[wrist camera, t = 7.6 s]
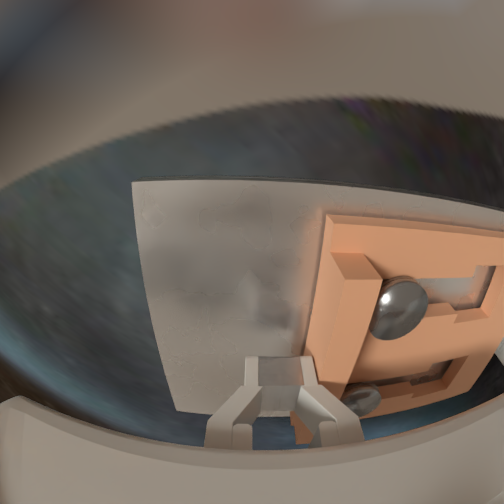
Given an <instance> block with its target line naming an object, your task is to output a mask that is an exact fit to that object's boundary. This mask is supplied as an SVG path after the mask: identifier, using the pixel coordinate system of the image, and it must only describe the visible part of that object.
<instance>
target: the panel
mask: <svg viewBox="0 0 504 504" xmlns="http://www.w3.org/2000/svg"><path fill="white" fill-rule="evenodd" d="M477 265H481V266H496V269H495V272H494V275H493V277H492V280H491V283H490V285H489V288H488V290H487V293H486V295H485V298H484V300H483V302H482V305H481V307H480V308H474V309H467V310H459V311H455V310H454V309H453V307H452V306H451V305H450V304H449V303H436V304H428V307H427V311H426V313H425V315H424V317H423V319H422V320H421V322H420V323H419V324H418V325H417V326H416V327H415V328H414V329H413V330H412V331H411V332H409V333H408V334H406V335H405V336H403V337H400V338H398V339H394V340H387V341H386V340H380V339H377V338H375V337H374V336H373V335H372V334H371V332H370V330H369V328H368V327H369V324H370V321H371V318H372V315H373V311H374V308H375V305H376V302H377V298H378V295H379V291H380V288H381V284H382V281H383V279H390V278H393V277H396V276H409V277H412V278H414V279H420V278H467V277H473V274H474V272H475V269H476V266H477ZM503 337H504V232H498V231H491V230H484V229H477V228H469V227H461V226H453V225H444V224H436V223H426V222H417V221H407V220H396V219H385V218H373V217H360V216H346V215H330V214H327V215H326V223H325V231H324V239H323V246H322V253H321V260H320V267H319V273H318V280H317V286H316V292H315V298H314V303H313V309H312V314H311V320H310V325H309V330H308V335H307V340H306V345H305V350H304V354H303V356H312V358H313V363H314V368H315V372H316V377H317V382H318V385H323V386H324V387H325V388H326V389H327V390H328V391H329V392H330V393H332V394H333V395H334V396H335V397H336V398H337V399H338V400H340V398H341V396H342V394H343V392H344V389H345V387H346V385H347V384H349V383H358V382H366V381H374V380H381V379H388V378H394V377H400V376H406V375H411V374H416V373H421V372H426V371H428V370H429V369H430V367H431V365H432V364H433V363H438V362H442V361H447V360H451V359H453V361H452V363H451V364H450V366H449V368H448V369H447V371H446V372H445V374H444V376H443V377H442V379H439V380H435V381H431V382H427V383H423V384H418V385H414V386H411V384H410V382H409V381H408V382H403V383H397V384H392V385H385V386H379V387H378V390H379V392H380V395H381V402H380V404H379V405H378V407H377V408H376V409H374V410H373V411H372V412H370V413H368V414H367V415H365V416H362V417H360V418H359V419H363V418H369V417H375V416H380V415H385V414H390V413H395V412H399V411H404V410H408V409H412V408H416V407H420V406H424V405H427V404H431V403H434V402H437V401H441V400H444V399H447V398H450V397H453V396H456V395H459V394H462V393H465V392H467V391H469V390H470V388H471V387H472V386H473V384H474V383H475V381H476V380H477V379H478V377H479V376H480V374H481V373H482V371H483V370H484V368H485V367H486V365H487V364H488V362H489V361H490V359H491V357H492V356H493V354H494V353H495V351H496V349H497V348H498V346H499V344H500V342H501V341H502V339H503ZM290 420H291V426H294V428H295V438H296V444H307V443H311V441H312V439H313V436H314V435H313V434H312V433H311V432H310V430H309V429H308V428H307V427H306V426H305V424H304V423H303V422H302V421H301V419H300V418H299V417H298V416H297V415H296V413H295V412H294V411H290Z"/></svg>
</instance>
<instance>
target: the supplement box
mask: <svg viewBox="0 0 504 504" xmlns="http://www.w3.org/2000/svg"><path fill="white" fill-rule="evenodd" d="M495 354H496V356H497V357H498V358H499V360H500V361H501V362H502V364H503V365H504V337H503V339H502V341H501V342H500V344H499V346H498V348H497V349H496V351H495Z"/></svg>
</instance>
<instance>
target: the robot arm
mask: <svg viewBox="0 0 504 504" xmlns="http://www.w3.org/2000/svg"><path fill="white" fill-rule="evenodd" d="M261 411H294V412H295V413H296V415H297V416H298V417H299V418H300V419H301V421H302V422H303V423H304V424H305V426H306V427H307V428H308V429H309V430H310V432H311V433H312V434H313V435H314V436H313V439H312V441H311V443H310V445H309V447H308V449H294V450H252V426H251V425H252V424H253V422H254V421H255V420H256V418H257V417H258V415H259V414H260V412H261ZM0 504H504V393H503V394H501V395H499V396H497V397H495V398H493V399H491V400H489V401H487V402H485V403H483V404H481V405H478V406H476V407H474V408H472V409H469V410H467V411H465V412H462V413H460V414H457V415H455V416H452V417H449V418H447V419H444V420H441V421H438V422H435V423H432V424H429V425H426V426H423V427H420V428H416V429H413V430H409V431H406V432H402V433H398V434H394V435H390V436H386V437H381V438H377V439H372V440H367V441H365V439H364V435H363V432H362V428H361V424H360V421H359V417H358V416H357V415H356V414H355V413H354V412H352V411H351V410H350V409H349V408H348V407H347V406H345V405H344V404H343V403H342V402H341V401H340V400H338V399H337V398H336V397H335V396H334V395H333V394H332V393H330V392H329V391H328V390H327V389H326V388H325V387H324V386H323V385H318V382H317V377H316V372H315V368H314V363H313V358H312V356H282V357H269V356H246V359H245V383H244V386H240V387H239V388H238V389H237V391H236V392H235V393H234V394H233V395H232V396H231V397H230V398H229V399H228V400H227V401H226V402H225V403H224V404H223V405H222V406H221V408H220V409H219V410H218V411H217V412H216V413H215V414H214V415H213V416H212V417H211V418H210V419H209V420H208V422H207V429H206V436H205V443H204V447H195V446H187V445H179V444H173V443H167V442H161V441H156V440H151V439H146V438H141V437H137V436H132V435H128V434H124V433H120V432H117V431H113V430H109V429H106V428H103V427H99V426H96V425H93V424H90V423H87V422H84V421H81V420H78V419H75V418H73V417H70V416H67V415H65V414H62V413H60V412H57V411H55V410H52V409H50V408H48V407H45V406H43V405H41V404H38V403H36V402H34V401H32V400H30V399H28V398H26V397H23V396H16V397H13V398H11V399H9V400H7V401H5V402H3V403H1V404H0Z"/></svg>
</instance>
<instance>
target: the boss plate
mask: <svg viewBox="0 0 504 504" xmlns="http://www.w3.org/2000/svg"><path fill="white" fill-rule="evenodd" d="M132 194H133V205H134V215H135V224H136V232H137V240H138V247H139V254H140V261H141V267H142V273H143V279H144V285H145V290H146V295H147V300H148V305H149V310H150V315H151V319H152V324H153V328H154V333H155V337H156V341H157V345H158V349H159V353H160V357H161V360H162V364H163V368H164V371H165V375H166V378H167V382H168V385H169V388H170V391H171V395H172V398H173V401H174V404H175V407H176V410H177V411H183V412H192V413H201V414H212V415H214V414H215V413H216V412H217V411H218V410H219V409H220V408H221V406H222V405H223V404H224V403H225V402H226V401H227V400H228V399H229V398H230V397H231V396H232V395H233V394H234V393H235V392H236V391H237V389H238V388H239V387H240V386H244V383H245V359H246V356H269V357H282V356H303V354H304V350H305V345H306V340H307V335H308V330H309V325H310V320H311V314H312V309H313V303H314V298H315V292H316V286H317V280H318V273H319V267H320V260H321V253H322V246H323V239H324V231H325V223H326V215H327V214H330V215H346V216H360V217H373V218H385V219H396V220H407V221H417V222H426V223H436V224H444V225H453V226H461V227H469V228H477V229H484V230H491V231H498V232H504V209H502V208H498V207H494V206H490V205H485V204H481V203H477V202H472V201H467V200H462V199H458V198H452V197H447V196H442V195H436V194H431V193H425V192H419V191H412V190H406V189H399V188H392V187H384V186H376V185H368V184H359V183H350V182H340V181H329V180H316V179H302V178H286V177H264V176H218V175H204V176H159V177H141V178H139V179H137V180H135V181H133V182H132ZM495 269H496V266H481V265H477V266H476V269H475V272H474V274H473V277H467V278H420V279H414V278H412V277H409V276H396V277H393V278H390V279H383V281H382V284H381V288H380V291H379V295H378V298H377V302H376V305H375V308H374V311H373V315H372V318H371V321H370V324H369V327H368V328H369V330H370V332H371V334H372V335H373V336H374V337H375V338H377V339H380V340H386V341H387V340H394V339H398V338H400V337H403V336H405V335H406V334H408V333H409V332H411V331H412V330H413V329H414V328H415V327H416V326H417V325H418V324H419V323H420V322H421V320H422V319H423V317H424V315H425V313H426V311H427V307H428V304H436V303H449V304H450V305H451V306H452V307H453V309H454V310H455V311H459V310H467V309H474V308H480V307H481V305H482V302H483V300H484V298H485V295H486V293H487V290H488V288H489V285H490V283H491V280H492V277H493V275H494V272H495ZM452 361H453V359H451V360H447V361H442V362H438V363H433V364H432V365H431V367H430V369H429V370H428V371H426V372H421V373H416V374H411V375H406V376H400V377H394V378H388V379H381V380H374V381H366V382H358V383H349V384H347V385H346V387H345V389H344V392H343V394H342V396H341V398H340V401H341V402H342V403H343V404H344V405H345V406H347V407H348V408H349V409H350V410H351V411H352V412H354V413H355V414H356V415H357V416H358V417H359V418H360V417H362V416H365V415H367V414H368V413H370V412H372V411H373V410H374V409H376V408H377V407H378V405H379V404H380V402H381V395H380V392H379V390H378V387H379V386H385V385H392V384H397V383H403V382H408V381H409V382H410V384H411V386H414V385H418V384H423V383H427V382H431V381H435V380H439V379H442V377H443V376H444V374H445V372H446V371H447V369H448V368H449V366H450V364H451V363H452ZM284 416H290V411H261V412H260V414H259V415H258V417H284Z"/></svg>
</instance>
